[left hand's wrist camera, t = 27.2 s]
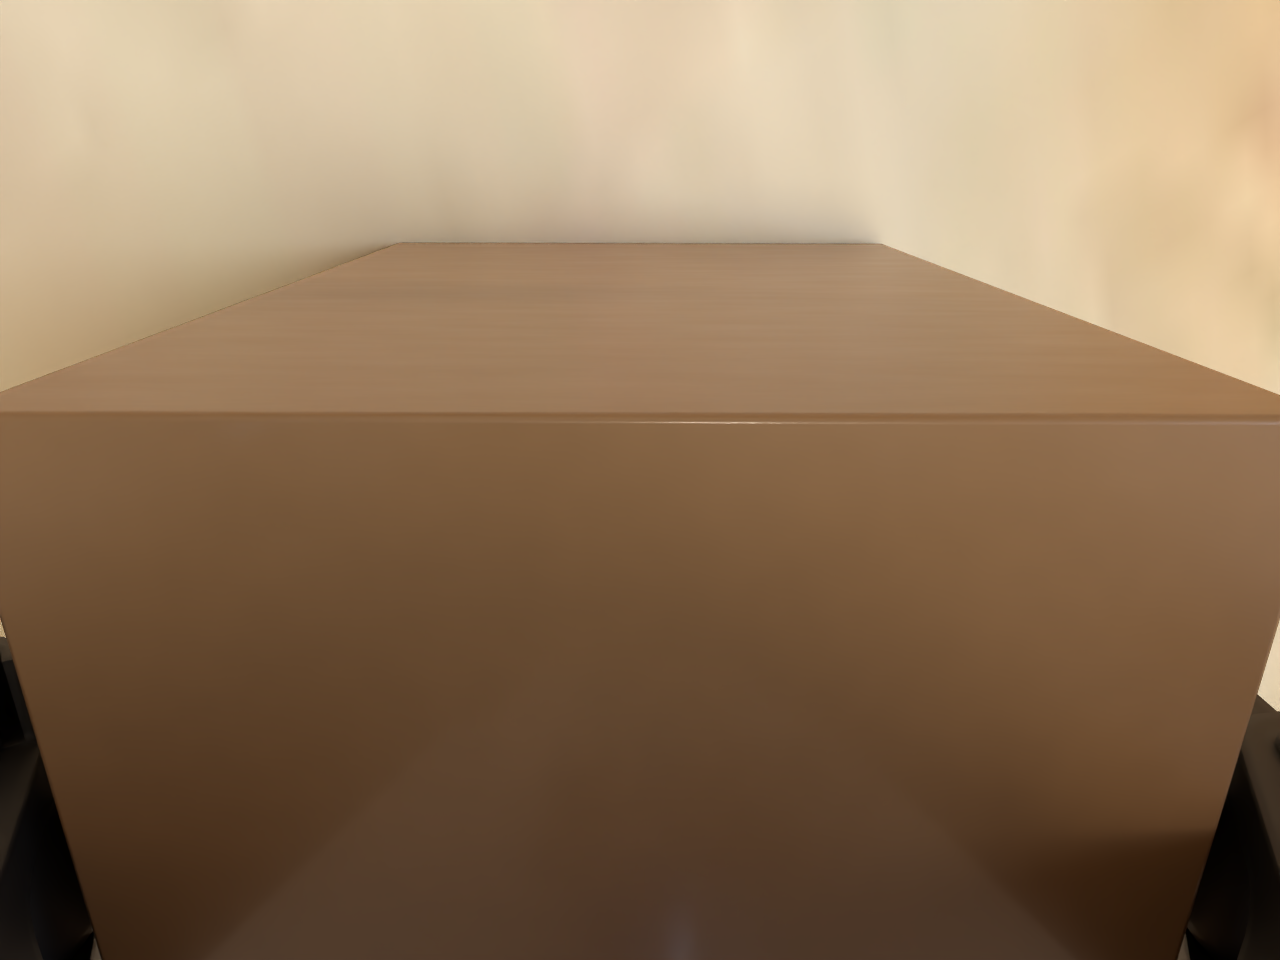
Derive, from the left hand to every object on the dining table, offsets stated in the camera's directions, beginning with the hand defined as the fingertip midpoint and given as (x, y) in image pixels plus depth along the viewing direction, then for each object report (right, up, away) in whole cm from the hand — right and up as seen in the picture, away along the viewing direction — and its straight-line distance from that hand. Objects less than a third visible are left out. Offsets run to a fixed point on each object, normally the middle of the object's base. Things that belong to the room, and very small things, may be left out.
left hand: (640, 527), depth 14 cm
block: (0, +1, +2) cm, 2 cm away
